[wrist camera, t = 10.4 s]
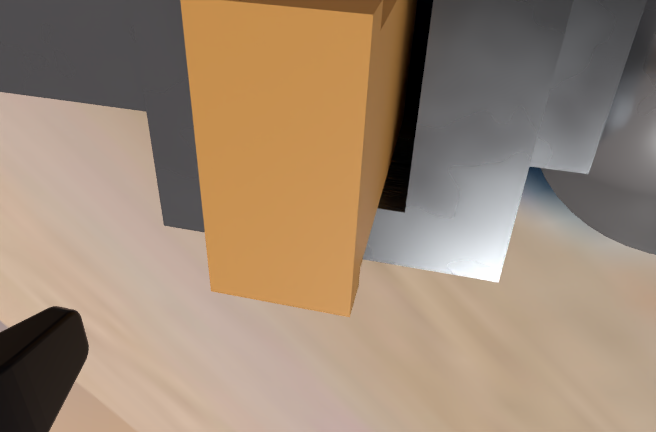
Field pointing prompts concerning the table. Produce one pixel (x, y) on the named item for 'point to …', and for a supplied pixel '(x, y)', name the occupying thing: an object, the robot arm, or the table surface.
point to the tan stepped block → (294, 138)
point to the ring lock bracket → (432, 124)
